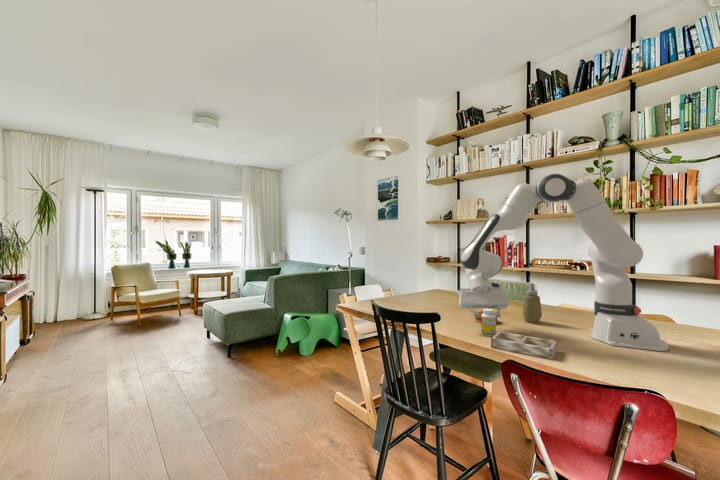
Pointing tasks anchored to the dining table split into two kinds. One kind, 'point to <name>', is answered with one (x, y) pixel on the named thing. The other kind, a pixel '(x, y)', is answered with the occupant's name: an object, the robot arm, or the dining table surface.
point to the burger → (480, 317)
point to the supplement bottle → (488, 322)
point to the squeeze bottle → (532, 306)
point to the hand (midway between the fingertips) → (487, 316)
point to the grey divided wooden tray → (524, 344)
